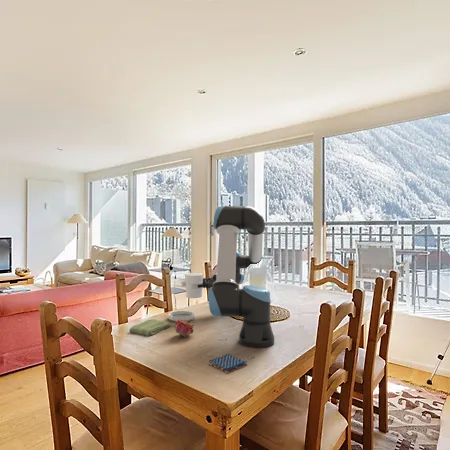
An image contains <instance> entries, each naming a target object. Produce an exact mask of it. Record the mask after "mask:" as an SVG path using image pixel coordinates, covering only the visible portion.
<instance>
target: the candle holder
mask: <svg viewBox="0 0 450 450" xmlns="http://www.w3.org/2000/svg"><path fill="white" fill-rule="evenodd" d="M203 278H204V273H202V272H188V273H187V272H186V273H184V279H185V280H184V281H185V283H186V286H185V295H186V298H189V299H199V298H202V296H203V288H199V289H191V284H195V283H203Z"/></svg>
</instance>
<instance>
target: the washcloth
mask: <svg viewBox="0 0 450 450" xmlns="http://www.w3.org/2000/svg"><path fill="white" fill-rule="evenodd" d="M171 326H172V323H169V322H167V321H164V320H161V319H160V320H157V319H154V318H153V319H147V320H145V321H143V322H140V323H138V324H137V323H136V324H135V325H133V326H131V327H130V328H129V332H130V333H131V334H136V335H142V336H147V337H151V336H154V335H155V334H157V333H160V332H162V331H163V330H166V329H168V328H170V327H171Z"/></svg>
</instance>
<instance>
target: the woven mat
mask: <svg viewBox="0 0 450 450" xmlns="http://www.w3.org/2000/svg"><path fill="white" fill-rule="evenodd" d="M208 364H210V365H209V366H211V367H212V365H213V366H214V368H215V367H216V369H218V368H219V370H220V369H221V370H222V372H223V373H224V371H225V373H226V374H228V373H231V372H233V371H235V370H238V369H240V368H243V367H245V366H247V365H248V361H246V360H245V359H242V358H240V357H237V356H236V355H234V354H230V353H228V354H227V353H226V354H225V355H224V354H223V355H220V356H219V357H216V358H212V359H209V361H208ZM221 370H220V371H221Z"/></svg>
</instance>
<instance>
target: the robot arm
mask: <svg viewBox="0 0 450 450" xmlns="http://www.w3.org/2000/svg"><path fill="white" fill-rule="evenodd" d="M213 229H214V230H216V234H218V247H217V264H216V274H213V276H212V277H208V278H207V277H203V283H195V284H191V289H199V288H202V289H205V288H206V289H207V290H208V291H207V298H208V306H209V307H208V308H209V313H210V315H212V316H215V317H221V318H222V317H233V318H234V317H235V318H237V317H238V318H239V317H241V318H242V325H241V328H240V331H239V334H238V342H239V344H241V345H243V346H245V347H248V348H257V349H258V348H268V347H271V346H273V345H274V344H275V335H274V332H273V329H272V325H271V302H272V301H271V292H270V290H269V289H267V288H265V287H263V286H259V285H247V284H245V285H243V287H242V288H240V287H239V285H242V284H243V283H244V282H245V276H244V274H243V272H242V271H241V269H246V270H247V267H248V266H249V265H250V264H257V263H259V262H260V261H261V259H262V258H265V259H266V257H265V256H264V255H263V241H264V239H263V238H264V237H263V236H264V232H265V230H266V223H265V219H264V217H263V215H262V214H261V213H260V211H259V210H257V209H256V208H254V207H252V206H251V205H231V206H230V205H229V206H228V205H220V206H218V207H217V208H215V212H214V215H213ZM241 230H246V232H247V235H248V236H247V237H248V238H247V239H248V241H247V242H248V246H247V247H248V255H241V253H240V252H239V251H237V247H238V246H237V243H238V242H237V240H238V235H240V233H241ZM181 287H186V283H185V280H182V281H181Z"/></svg>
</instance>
